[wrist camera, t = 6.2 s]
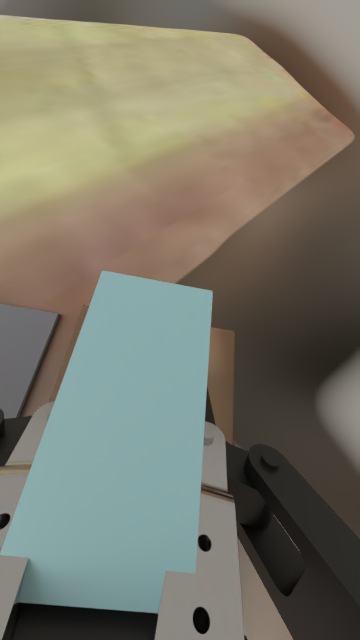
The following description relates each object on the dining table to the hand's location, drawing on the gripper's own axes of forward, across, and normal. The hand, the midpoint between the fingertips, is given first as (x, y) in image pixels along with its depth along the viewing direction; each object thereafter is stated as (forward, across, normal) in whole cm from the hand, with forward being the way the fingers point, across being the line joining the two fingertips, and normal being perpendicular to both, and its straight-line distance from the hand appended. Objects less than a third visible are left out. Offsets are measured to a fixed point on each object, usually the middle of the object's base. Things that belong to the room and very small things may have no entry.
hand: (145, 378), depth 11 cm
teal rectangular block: (+3, 0, +6) cm, 7 cm away
